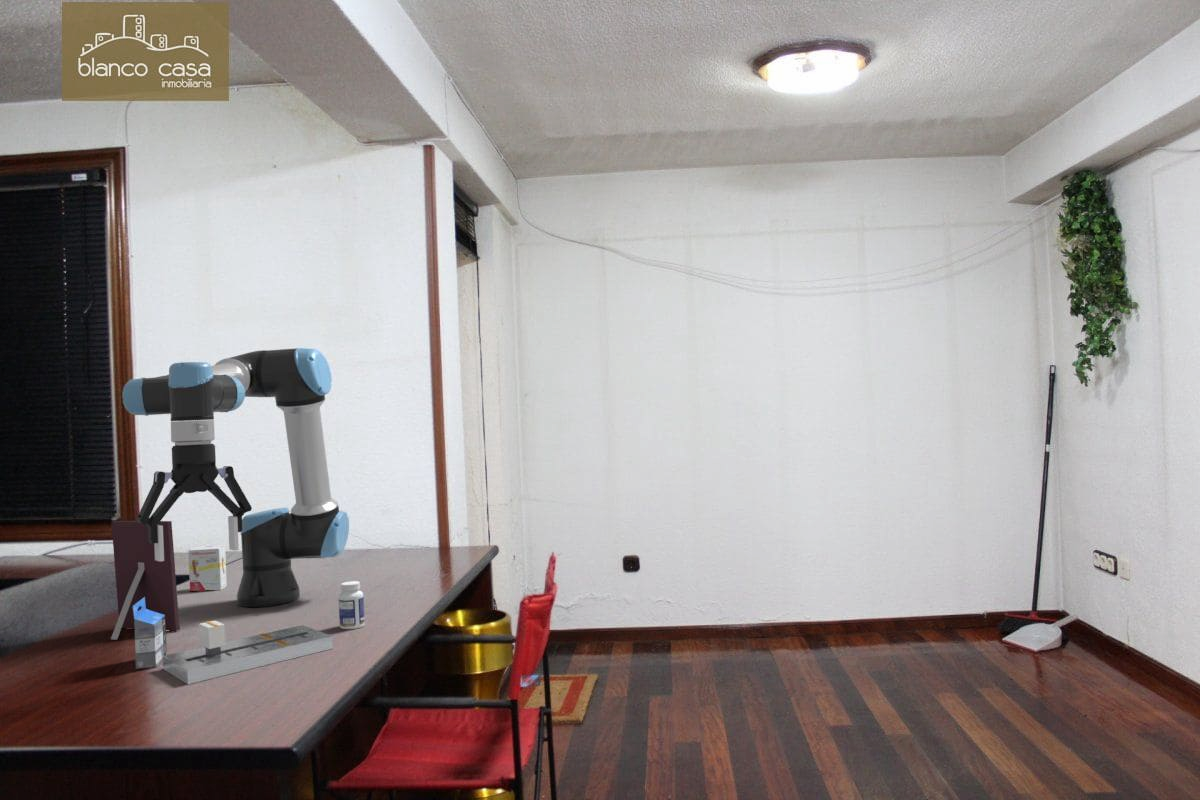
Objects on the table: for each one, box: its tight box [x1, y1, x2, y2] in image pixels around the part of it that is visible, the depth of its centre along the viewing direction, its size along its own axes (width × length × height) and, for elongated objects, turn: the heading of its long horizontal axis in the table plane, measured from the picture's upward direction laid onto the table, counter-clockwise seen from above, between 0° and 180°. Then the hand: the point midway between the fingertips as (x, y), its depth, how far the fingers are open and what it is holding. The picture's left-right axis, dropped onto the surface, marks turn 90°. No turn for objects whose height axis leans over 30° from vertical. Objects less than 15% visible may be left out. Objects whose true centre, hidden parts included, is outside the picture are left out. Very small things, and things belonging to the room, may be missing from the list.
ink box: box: [187, 544, 228, 592], centre depth 241 cm, size 9×5×12 cm, turn 95°
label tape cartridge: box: [132, 597, 168, 670], centre depth 171 cm, size 9×4×12 cm, turn 14°
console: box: [162, 624, 334, 685], centre depth 171 cm, size 14×28×3 cm, turn 133°
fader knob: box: [198, 620, 227, 657], centre depth 166 cm, size 5×3×8 cm, turn 44°
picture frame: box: [110, 520, 180, 640], centre depth 194 cm, size 17×10×25 cm, turn 71°
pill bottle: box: [338, 580, 366, 630], centre depth 193 cm, size 5×5×10 cm
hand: (197, 555), depth 164 cm, fingers open, 13 cm apart
